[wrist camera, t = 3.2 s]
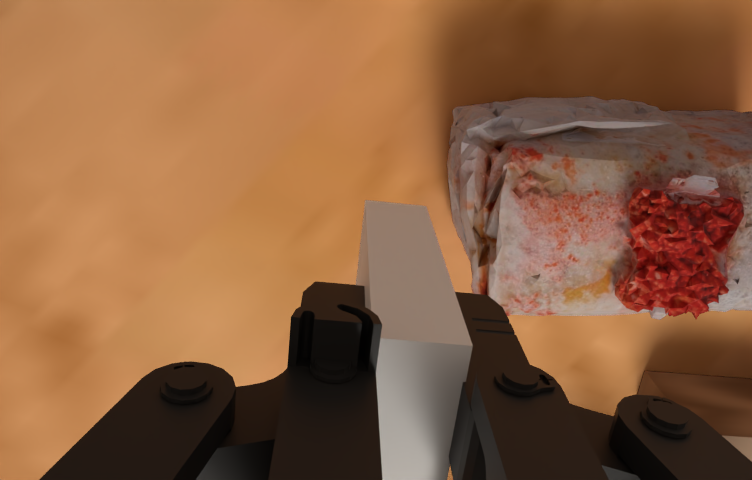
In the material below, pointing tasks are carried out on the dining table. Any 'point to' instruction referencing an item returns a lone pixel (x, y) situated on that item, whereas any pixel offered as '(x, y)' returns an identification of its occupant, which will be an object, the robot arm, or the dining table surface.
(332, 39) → the dining table surface
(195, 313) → the dining table surface
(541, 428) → the robot arm
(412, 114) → the dining table surface
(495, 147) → the food item
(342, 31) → the dining table surface
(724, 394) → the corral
